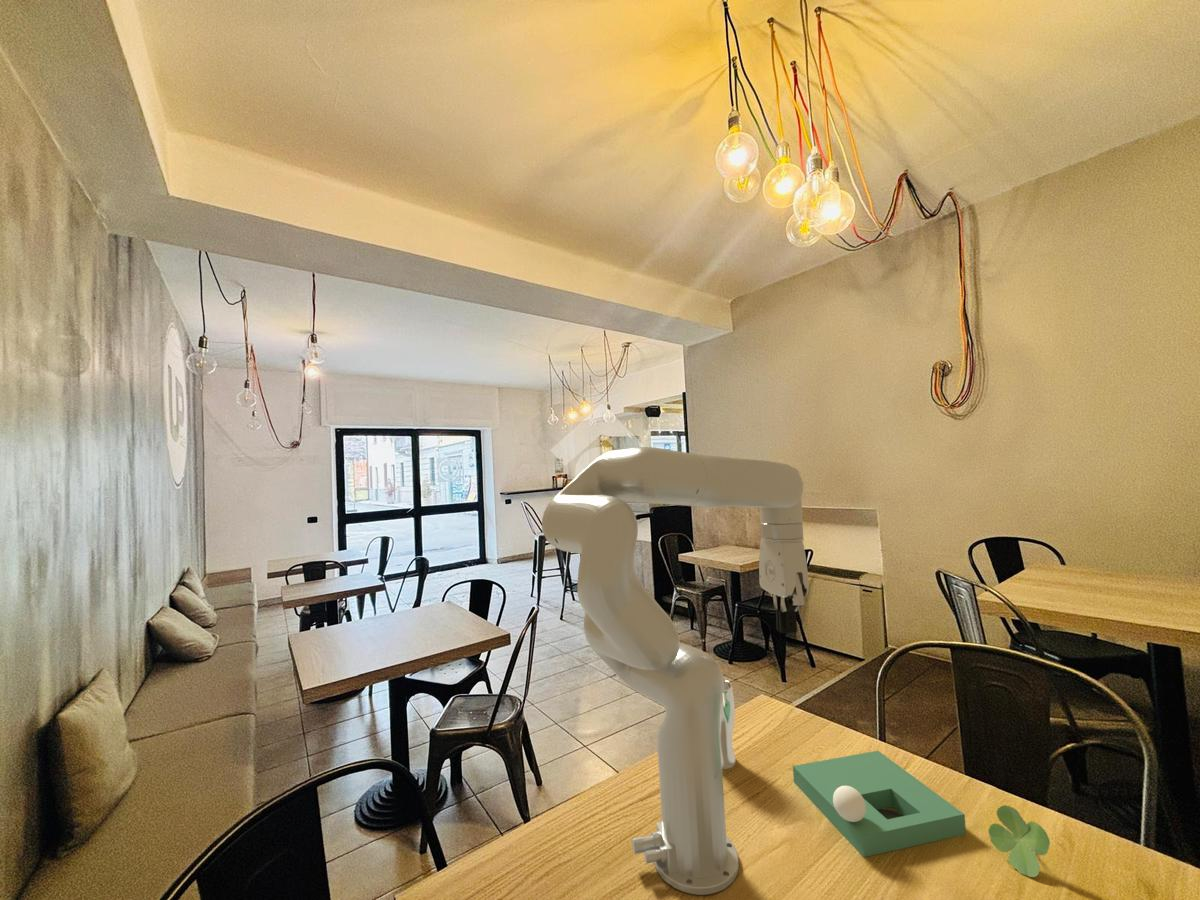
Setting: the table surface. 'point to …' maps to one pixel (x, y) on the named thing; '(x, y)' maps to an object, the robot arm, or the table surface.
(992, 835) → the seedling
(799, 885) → the table surface
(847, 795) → the ball
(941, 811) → the putting board
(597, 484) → the robot arm
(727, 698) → the white bottle
